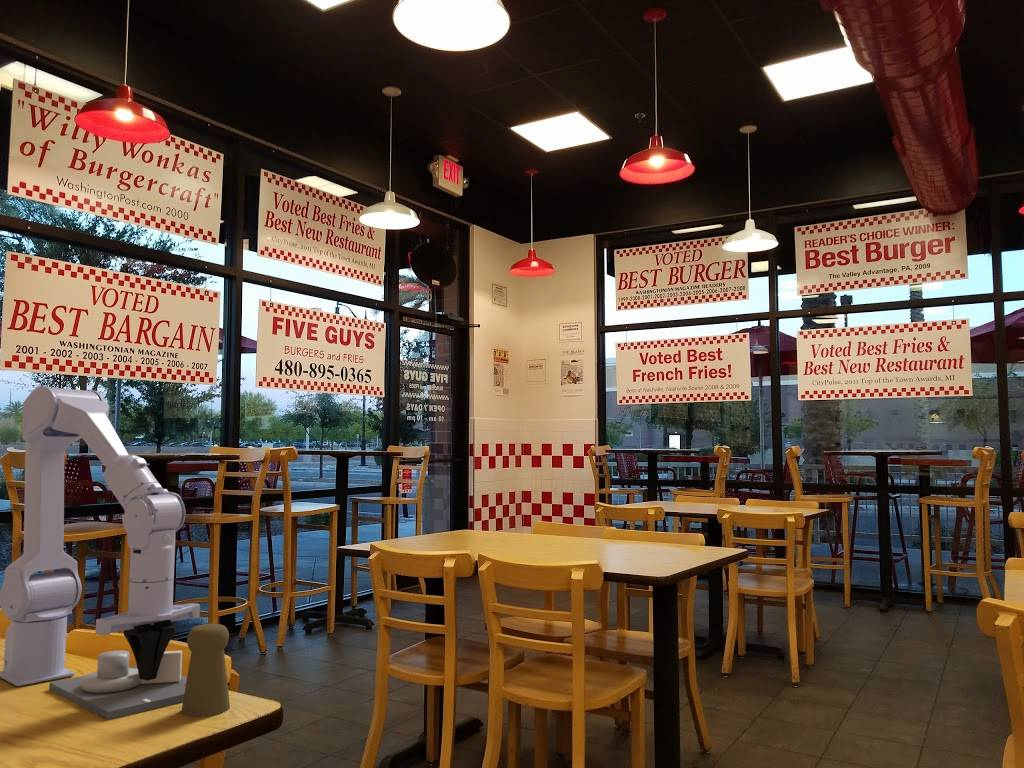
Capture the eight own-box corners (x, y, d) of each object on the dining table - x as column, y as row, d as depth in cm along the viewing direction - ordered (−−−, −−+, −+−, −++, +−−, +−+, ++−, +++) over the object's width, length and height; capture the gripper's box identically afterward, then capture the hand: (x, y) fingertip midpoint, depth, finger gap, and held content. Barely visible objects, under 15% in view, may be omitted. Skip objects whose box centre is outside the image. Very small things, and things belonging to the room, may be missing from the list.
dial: (73, 694, 108) (74, 662, 108) (88, 678, 116) (90, 649, 116) (176, 687, 111) (177, 656, 112) (184, 672, 119) (185, 643, 119)
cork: (213, 718, 102) (216, 630, 103) (171, 715, 103) (174, 628, 104) (238, 704, 108) (241, 621, 109) (198, 701, 109) (201, 619, 110)
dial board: (49, 689, 114) (49, 681, 114) (149, 669, 125) (150, 662, 125) (107, 719, 101) (108, 710, 101) (214, 694, 112) (214, 686, 112)
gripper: (118, 589, 104) (113, 696, 103) (213, 575, 116) (210, 671, 115) (89, 584, 108) (84, 687, 107) (184, 571, 120) (181, 664, 119)
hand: (147, 678), depth 111 cm, fingers closed
